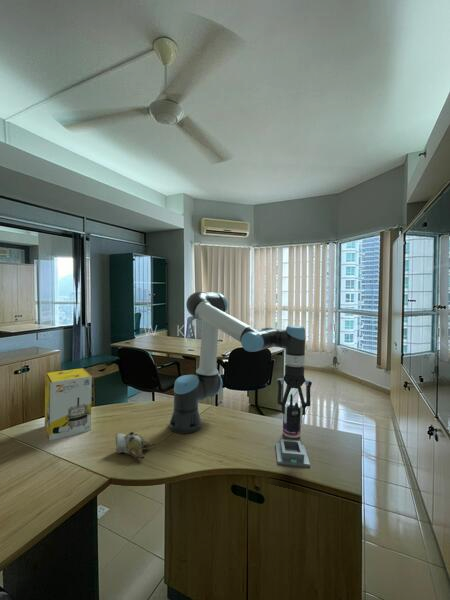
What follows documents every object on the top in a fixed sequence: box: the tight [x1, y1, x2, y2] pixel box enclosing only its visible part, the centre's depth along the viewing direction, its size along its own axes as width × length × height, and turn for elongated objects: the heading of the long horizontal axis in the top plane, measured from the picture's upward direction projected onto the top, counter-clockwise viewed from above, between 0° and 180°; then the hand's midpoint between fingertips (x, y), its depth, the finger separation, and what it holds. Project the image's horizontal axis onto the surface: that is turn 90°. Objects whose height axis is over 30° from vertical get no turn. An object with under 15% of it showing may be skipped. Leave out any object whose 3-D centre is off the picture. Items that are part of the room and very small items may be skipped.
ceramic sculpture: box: [115, 431, 156, 460], centre depth 113 cm, size 11×9×15 cm
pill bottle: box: [282, 401, 302, 439], centre depth 131 cm, size 8×8×14 cm
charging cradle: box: [274, 439, 311, 468], centre depth 115 cm, size 12×14×4 cm
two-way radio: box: [287, 393, 300, 432], centre depth 114 cm, size 6×4×15 cm
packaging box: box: [44, 367, 93, 442], centre depth 131 cm, size 16×16×25 cm
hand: (292, 422), depth 114 cm, fingers closed on two-way radio, 5 cm apart
